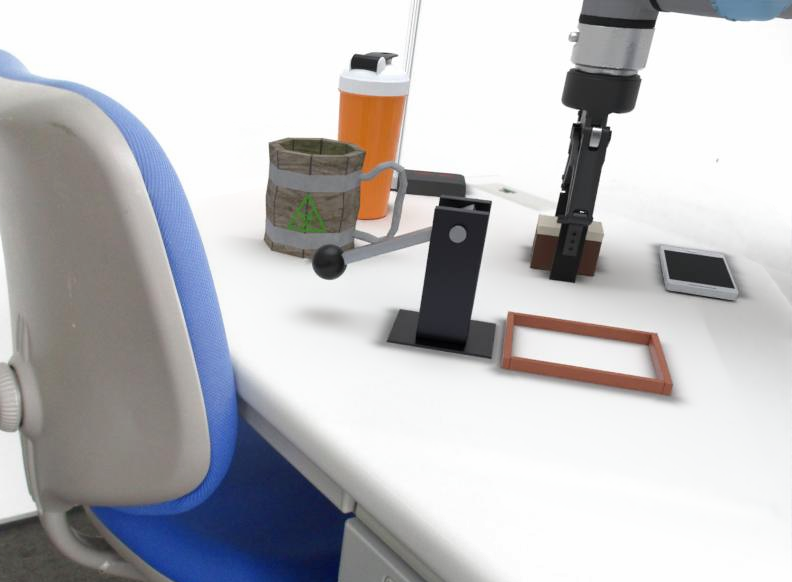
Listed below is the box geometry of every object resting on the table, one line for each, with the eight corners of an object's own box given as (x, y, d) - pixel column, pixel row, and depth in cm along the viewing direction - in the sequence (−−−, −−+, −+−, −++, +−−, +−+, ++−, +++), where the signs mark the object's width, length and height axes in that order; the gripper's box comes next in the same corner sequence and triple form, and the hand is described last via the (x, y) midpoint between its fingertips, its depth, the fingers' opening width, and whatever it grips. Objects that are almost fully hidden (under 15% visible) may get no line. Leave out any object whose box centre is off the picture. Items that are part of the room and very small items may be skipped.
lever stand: (385, 352, 77) (404, 209, 71) (398, 320, 84) (416, 187, 78) (489, 369, 75) (517, 223, 69) (493, 335, 82) (520, 199, 76)
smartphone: (721, 260, 106) (723, 252, 105) (737, 301, 93) (739, 293, 93) (658, 251, 108) (660, 244, 107) (665, 290, 95) (667, 282, 95)
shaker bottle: (401, 210, 120) (421, 54, 110) (381, 225, 112) (401, 60, 103) (340, 200, 123) (355, 48, 114) (317, 214, 116) (331, 53, 106)
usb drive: (464, 198, 127) (468, 179, 126) (382, 191, 129) (384, 172, 127) (463, 190, 132) (466, 172, 130) (384, 183, 133) (386, 165, 132)
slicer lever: (314, 288, 79) (303, 255, 78) (322, 277, 81) (311, 245, 80) (480, 243, 73) (470, 207, 72) (483, 233, 75) (473, 198, 74)
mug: (253, 261, 97) (259, 152, 91) (269, 234, 106) (275, 133, 101) (395, 277, 95) (410, 165, 89) (398, 248, 104) (412, 145, 99)
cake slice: (591, 263, 103) (601, 221, 100) (593, 276, 98) (604, 233, 96) (530, 255, 104) (539, 214, 102) (529, 267, 100) (538, 225, 98)
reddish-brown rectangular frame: (651, 353, 80) (657, 332, 79) (666, 406, 70) (673, 384, 69) (504, 330, 83) (508, 310, 82) (499, 378, 73) (503, 357, 72)
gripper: (565, 55, 103) (529, 230, 113) (571, 80, 82) (525, 293, 92) (632, 60, 101) (589, 238, 111) (656, 88, 80) (600, 304, 90)
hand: (560, 263), depth 101 cm, fingers open, 13 cm apart
